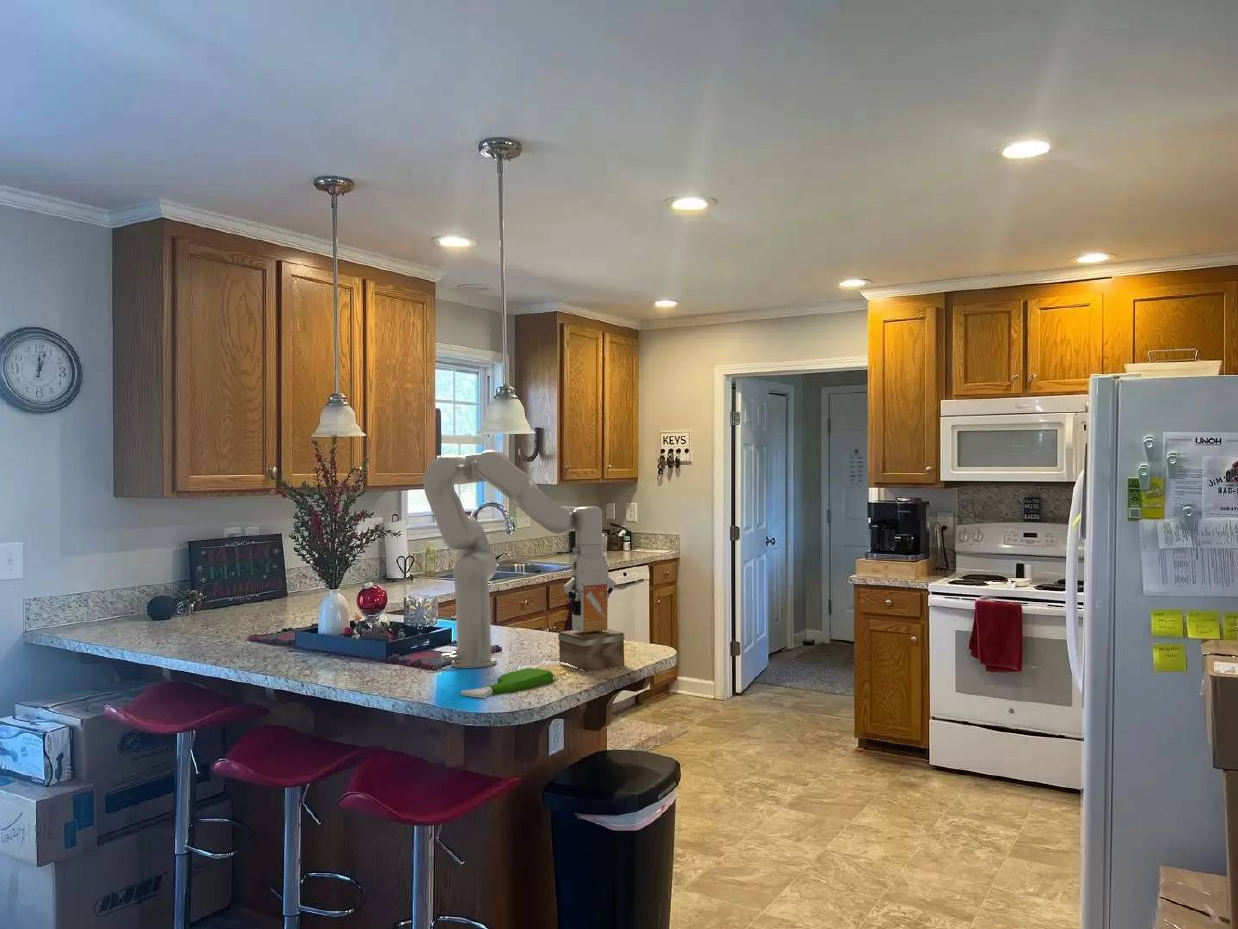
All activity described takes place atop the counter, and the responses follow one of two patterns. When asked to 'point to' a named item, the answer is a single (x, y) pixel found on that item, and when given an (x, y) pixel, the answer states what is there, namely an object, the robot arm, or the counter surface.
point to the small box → (591, 609)
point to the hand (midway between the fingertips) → (590, 613)
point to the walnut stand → (592, 649)
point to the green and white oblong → (513, 682)
